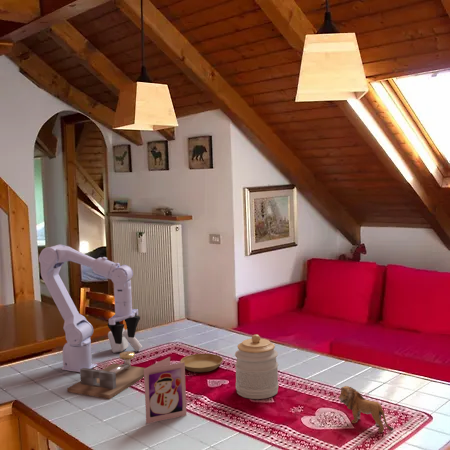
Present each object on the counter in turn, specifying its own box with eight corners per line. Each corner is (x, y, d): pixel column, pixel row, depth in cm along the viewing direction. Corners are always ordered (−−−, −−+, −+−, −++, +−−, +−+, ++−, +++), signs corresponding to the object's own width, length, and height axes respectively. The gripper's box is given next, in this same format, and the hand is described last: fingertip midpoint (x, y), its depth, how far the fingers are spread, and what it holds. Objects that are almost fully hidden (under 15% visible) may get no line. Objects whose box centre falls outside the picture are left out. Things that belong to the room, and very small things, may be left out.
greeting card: (147, 424, 149) (144, 370, 148) (139, 414, 156) (137, 361, 155) (187, 416, 154) (185, 363, 153) (178, 406, 161) (176, 355, 159)
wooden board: (67, 391, 174) (66, 372, 174) (113, 366, 196) (112, 350, 195) (109, 399, 168) (108, 379, 167) (152, 372, 189) (152, 355, 189)
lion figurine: (335, 420, 149) (335, 387, 148) (345, 413, 153) (344, 381, 152) (389, 435, 139) (389, 400, 139) (397, 427, 144) (397, 393, 143)
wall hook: (139, 353, 208) (132, 327, 208) (114, 358, 211) (107, 333, 210) (146, 346, 216) (139, 321, 216) (122, 352, 219) (115, 327, 218)
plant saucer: (198, 378, 183) (198, 370, 183) (171, 367, 194) (171, 360, 194) (232, 367, 193) (231, 359, 193) (204, 357, 204) (204, 350, 204)
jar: (283, 385, 174) (281, 330, 173) (272, 402, 162) (271, 342, 160) (243, 381, 178) (241, 327, 177) (230, 397, 166) (228, 339, 165)
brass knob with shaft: (102, 376, 181) (101, 362, 181) (125, 363, 193) (125, 350, 193) (115, 378, 179) (114, 364, 179) (137, 365, 191) (137, 352, 190)
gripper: (120, 306, 182) (122, 347, 183) (144, 297, 195) (146, 335, 196) (102, 305, 185) (104, 345, 186) (128, 296, 198) (129, 333, 199)
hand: (125, 340), depth 192 cm, fingers open, 7 cm apart
